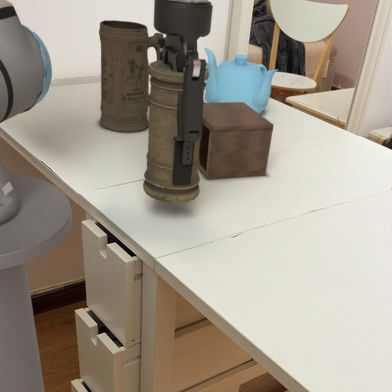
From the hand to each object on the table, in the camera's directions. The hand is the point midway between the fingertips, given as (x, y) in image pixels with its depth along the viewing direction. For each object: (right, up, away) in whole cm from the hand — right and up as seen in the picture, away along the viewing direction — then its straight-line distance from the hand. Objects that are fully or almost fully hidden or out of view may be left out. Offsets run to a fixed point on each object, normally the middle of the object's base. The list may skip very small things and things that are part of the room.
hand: (172, 171), depth 82 cm
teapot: (+13, +33, +53) cm, 63 cm away
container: (0, -3, +2) cm, 3 cm away
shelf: (+9, +10, +24) cm, 27 cm away
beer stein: (-11, +24, +39) cm, 47 cm away
